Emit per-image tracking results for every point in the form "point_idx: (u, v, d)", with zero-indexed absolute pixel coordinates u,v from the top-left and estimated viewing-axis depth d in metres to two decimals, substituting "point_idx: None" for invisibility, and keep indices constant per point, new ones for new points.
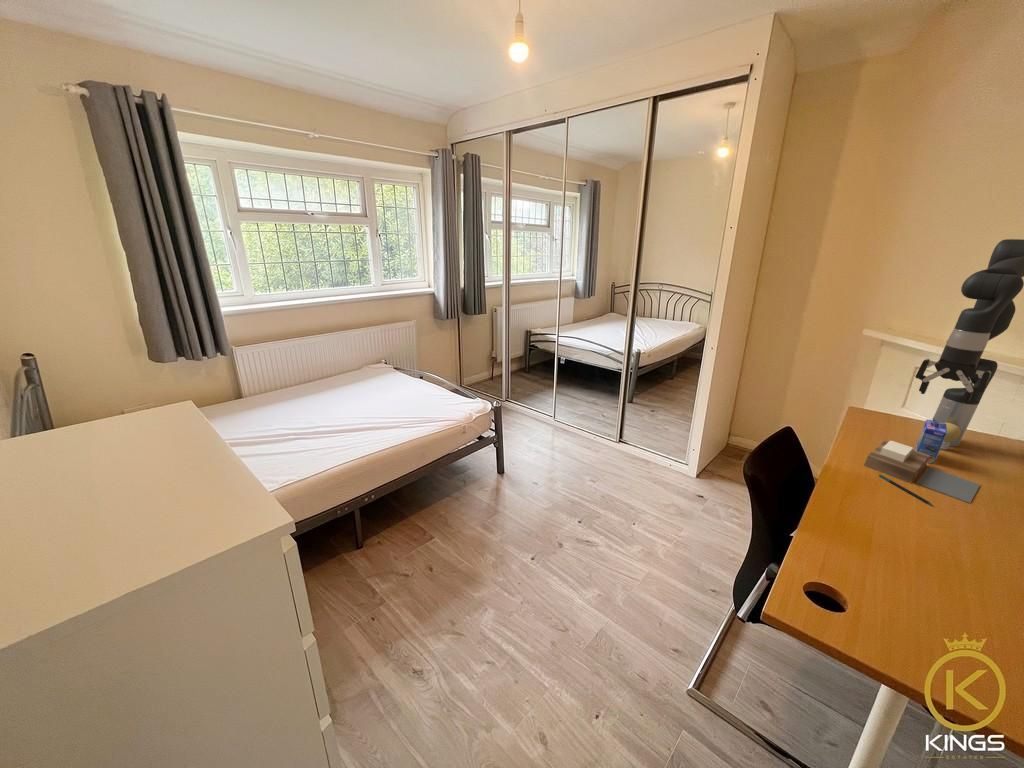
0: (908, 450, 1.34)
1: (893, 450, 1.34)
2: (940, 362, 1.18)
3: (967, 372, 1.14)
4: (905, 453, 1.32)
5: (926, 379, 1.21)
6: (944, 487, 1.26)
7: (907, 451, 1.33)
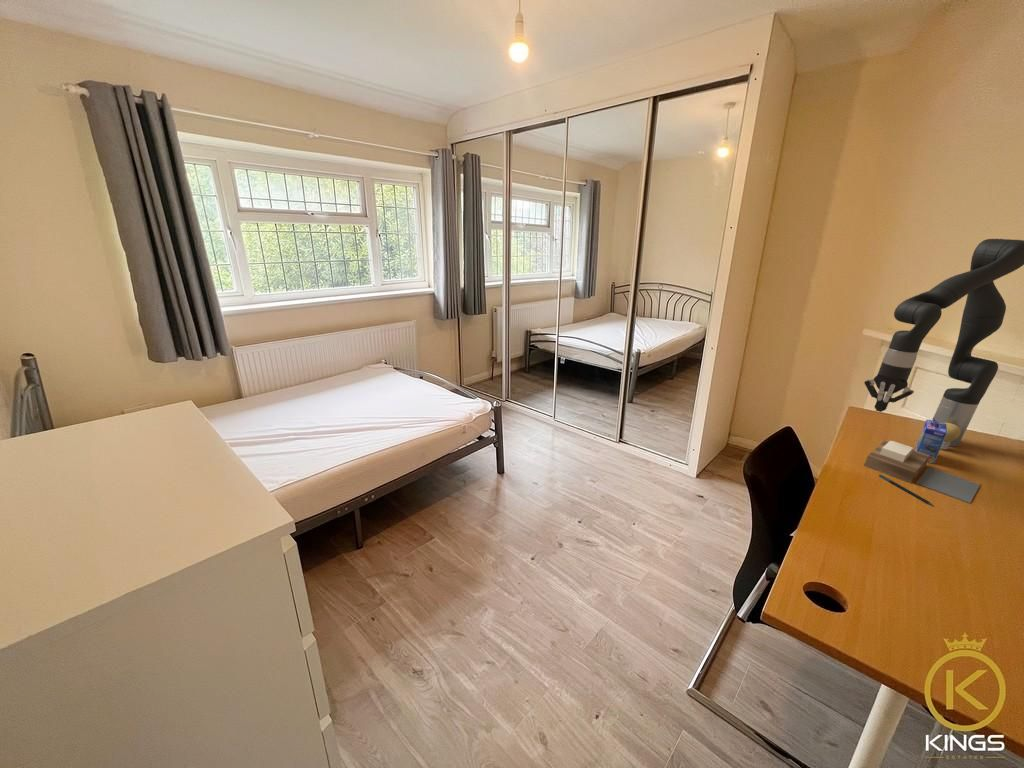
0: (908, 450, 1.34)
1: (893, 450, 1.34)
2: (875, 377, 1.36)
3: (899, 386, 1.31)
4: (905, 453, 1.32)
5: (880, 398, 1.36)
6: (944, 487, 1.26)
7: (907, 451, 1.33)
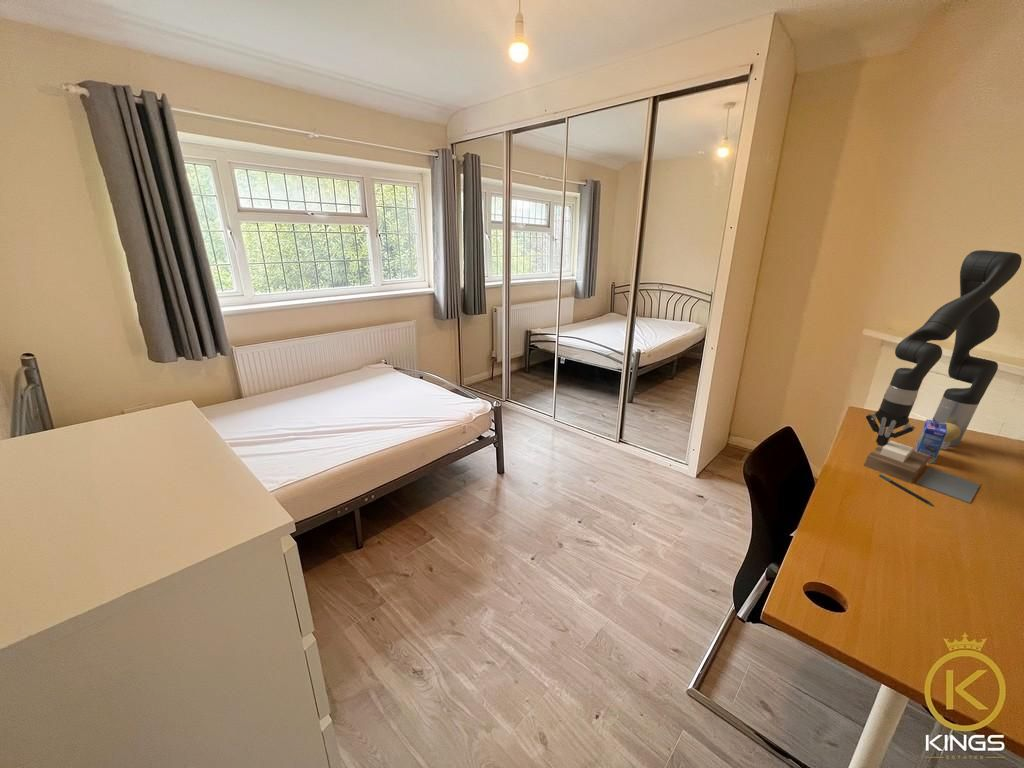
0: (908, 450, 1.34)
1: (893, 450, 1.34)
2: (877, 412, 1.38)
3: (900, 422, 1.33)
4: (905, 453, 1.32)
5: (881, 433, 1.38)
6: (944, 487, 1.26)
7: (907, 451, 1.33)
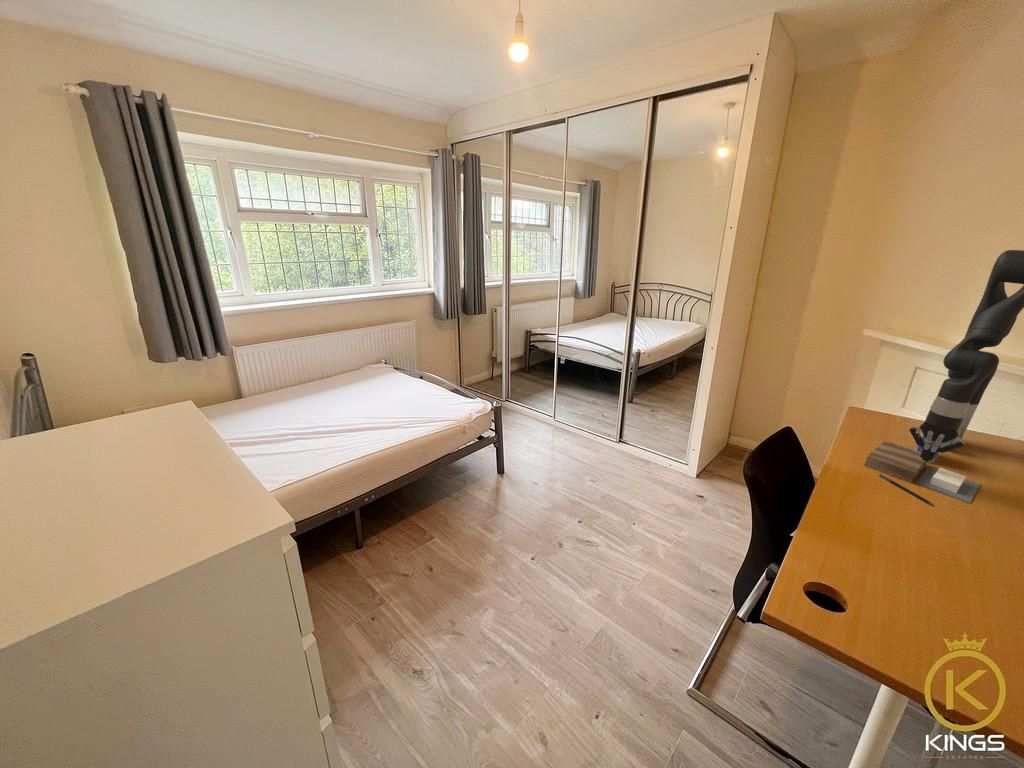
0: None
1: None
2: (922, 425, 1.29)
3: (949, 436, 1.24)
4: None
5: (927, 447, 1.29)
6: None
7: None
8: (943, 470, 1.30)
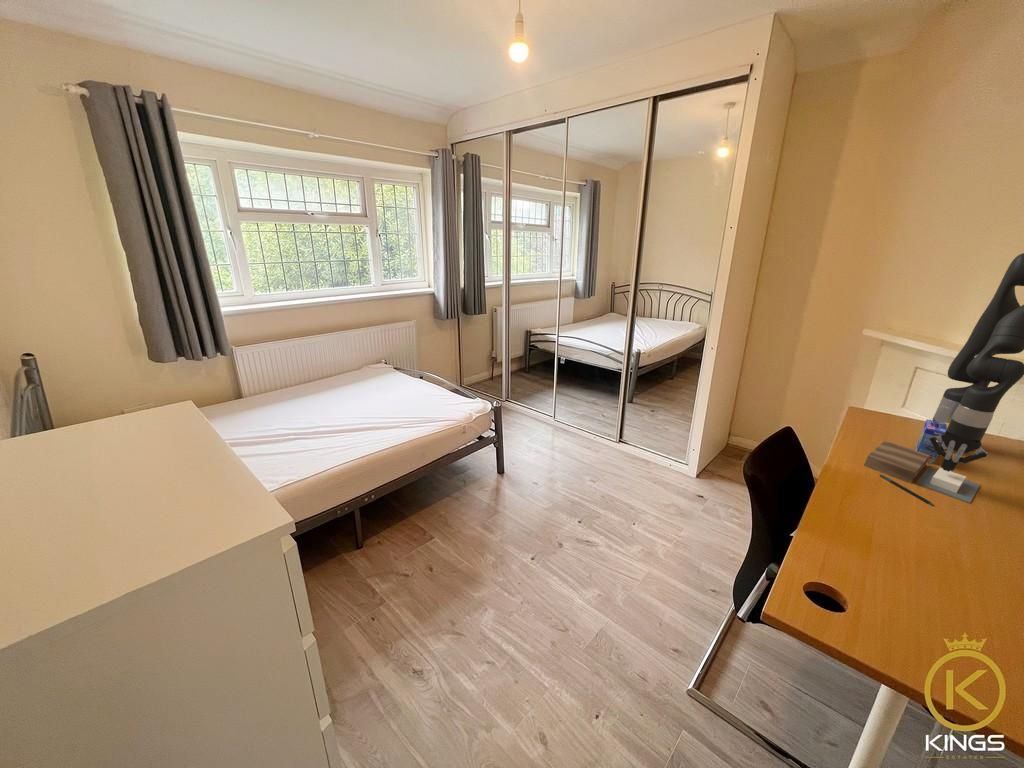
0: None
1: None
2: (943, 434, 1.25)
3: (972, 446, 1.21)
4: None
5: (948, 457, 1.25)
6: None
7: None
8: (943, 470, 1.30)
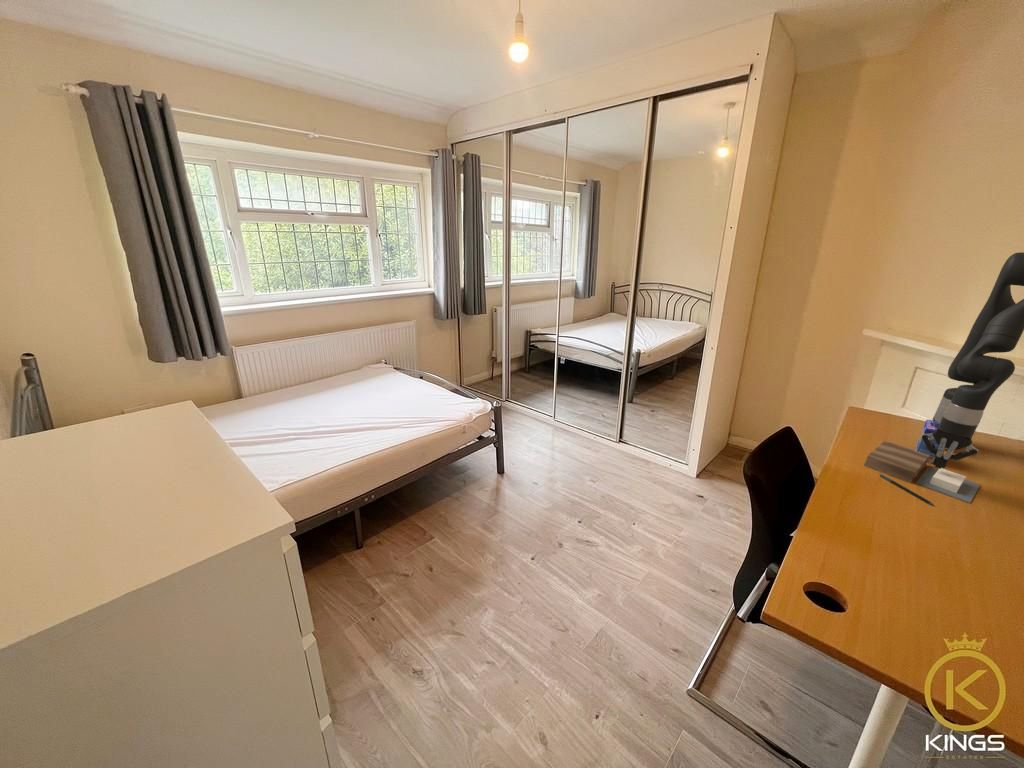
0: None
1: None
2: (935, 432, 1.27)
3: (963, 443, 1.22)
4: None
5: (940, 454, 1.27)
6: None
7: None
8: (943, 470, 1.30)
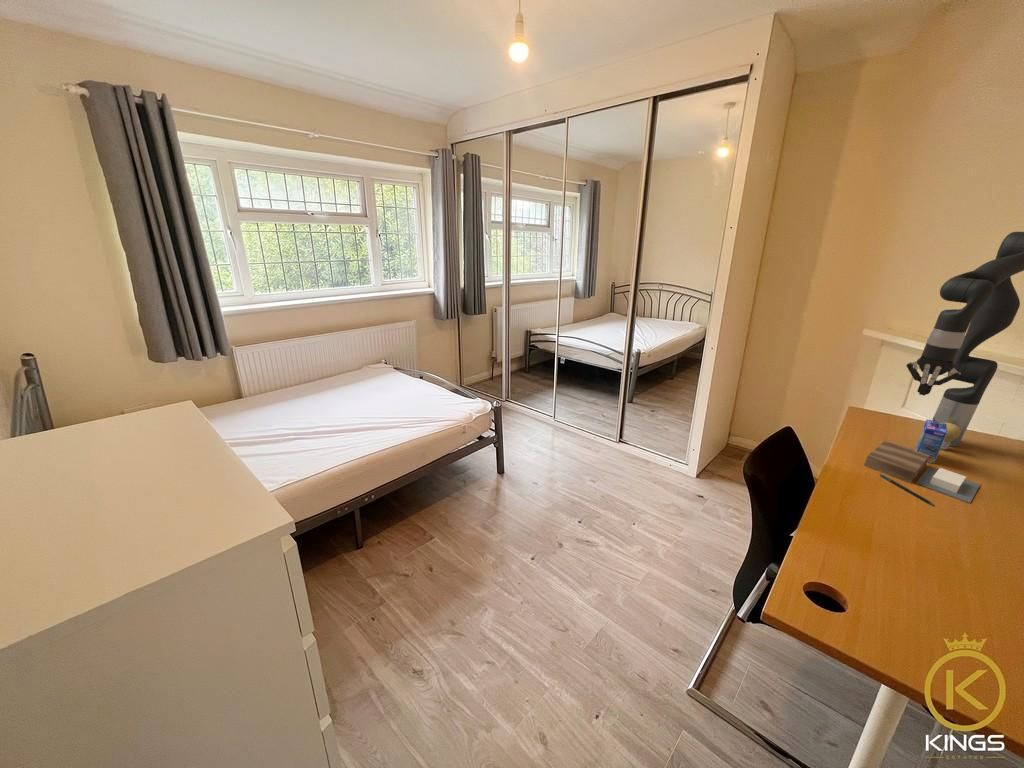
0: None
1: None
2: (919, 359, 1.30)
3: (945, 368, 1.26)
4: None
5: (924, 381, 1.30)
6: None
7: None
8: (943, 470, 1.30)
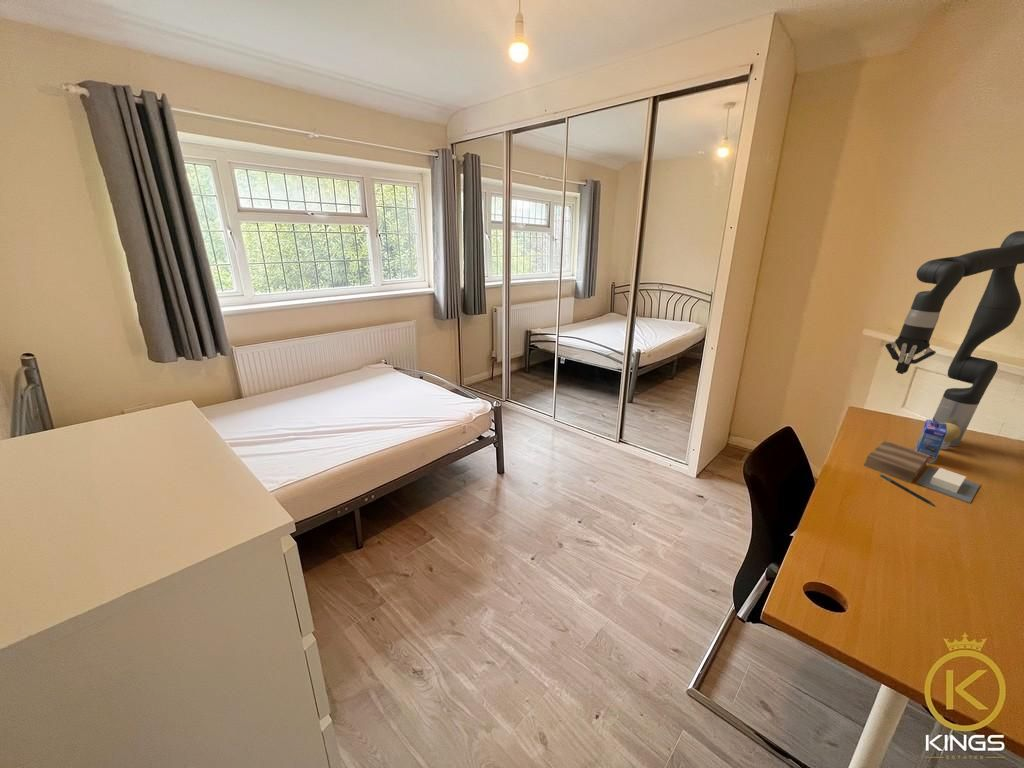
0: None
1: None
2: (897, 339, 1.37)
3: (921, 346, 1.32)
4: None
5: (901, 360, 1.37)
6: None
7: None
8: (943, 470, 1.30)
